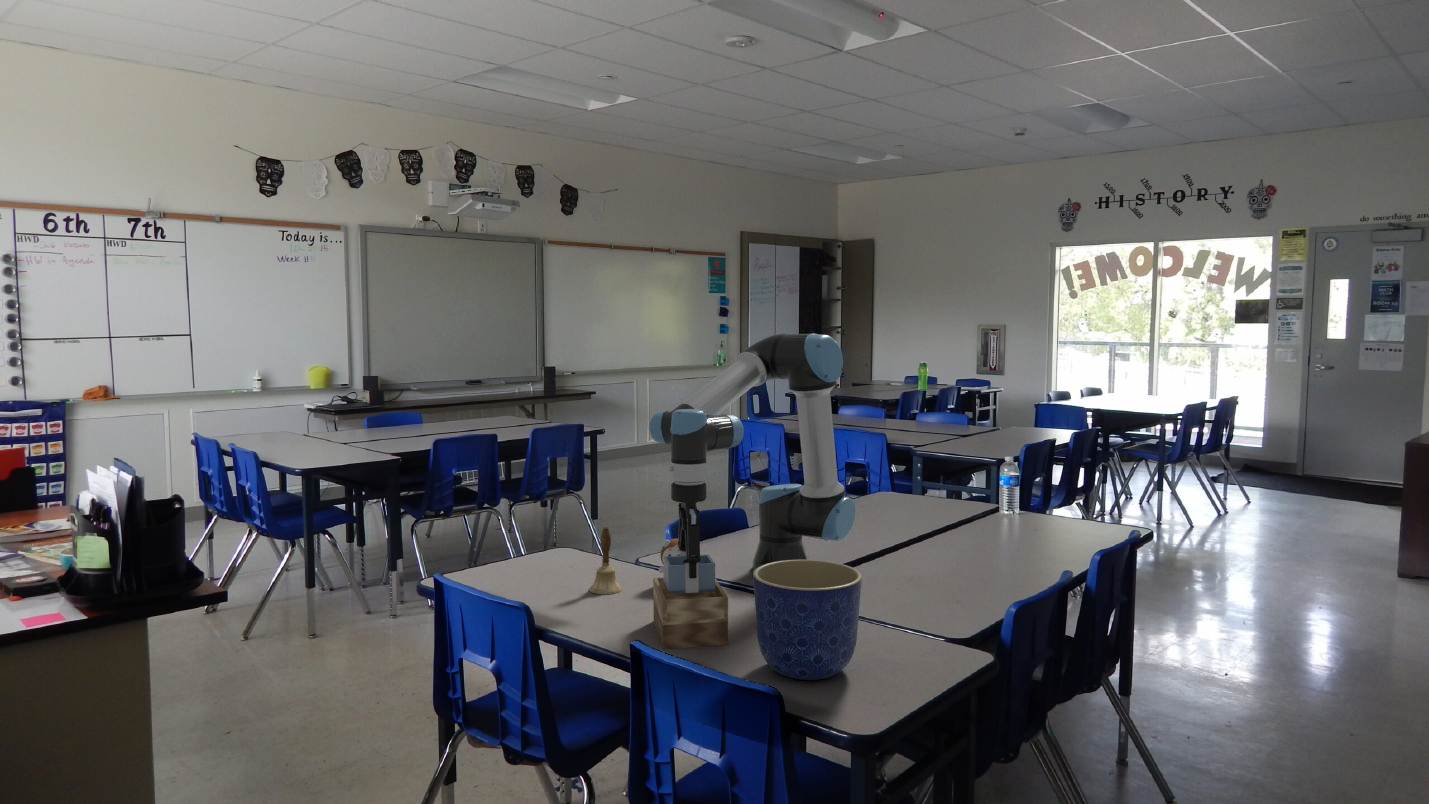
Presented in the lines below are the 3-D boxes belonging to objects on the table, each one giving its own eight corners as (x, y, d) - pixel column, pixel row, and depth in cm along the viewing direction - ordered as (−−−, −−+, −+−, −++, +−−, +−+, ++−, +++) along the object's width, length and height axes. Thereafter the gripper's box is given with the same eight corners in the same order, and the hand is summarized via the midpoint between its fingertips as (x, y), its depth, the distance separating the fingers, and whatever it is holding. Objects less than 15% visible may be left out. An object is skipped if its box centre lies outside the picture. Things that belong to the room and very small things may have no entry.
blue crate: (708, 581, 196) (708, 554, 196) (715, 591, 189) (715, 563, 188) (663, 583, 195) (663, 556, 194) (668, 594, 187) (668, 566, 186)
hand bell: (625, 585, 228) (624, 524, 226) (618, 595, 219) (617, 531, 218) (593, 584, 228) (592, 523, 227) (585, 594, 220) (584, 530, 219)
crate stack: (713, 617, 202) (713, 574, 201) (728, 644, 185) (728, 597, 184) (653, 621, 200) (653, 577, 199) (663, 648, 183) (662, 601, 182)
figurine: (655, 590, 223) (655, 543, 222) (661, 580, 232) (661, 535, 231) (692, 591, 222) (691, 544, 221) (696, 581, 231) (696, 536, 230)
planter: (883, 674, 169) (884, 576, 167) (801, 701, 157) (801, 596, 155) (811, 643, 186) (811, 554, 184) (731, 665, 174) (731, 569, 172)
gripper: (665, 474, 199) (665, 574, 201) (678, 491, 179) (678, 601, 181) (698, 473, 201) (698, 572, 202) (714, 489, 180) (714, 599, 182)
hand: (688, 586), depth 192 cm, fingers closed on blue crate, 8 cm apart
